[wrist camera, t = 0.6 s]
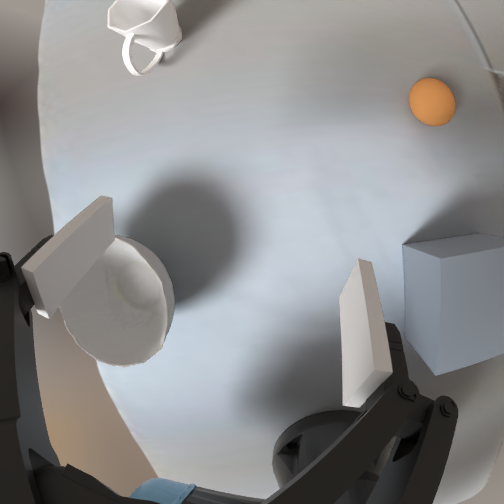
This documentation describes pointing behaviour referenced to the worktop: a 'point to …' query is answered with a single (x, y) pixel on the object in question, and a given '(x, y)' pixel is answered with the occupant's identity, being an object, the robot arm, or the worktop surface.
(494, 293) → the matte grey cuboid
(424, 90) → the ball
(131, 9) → the cup
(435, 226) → the worktop surface
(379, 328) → the robot arm
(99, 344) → the teacup
